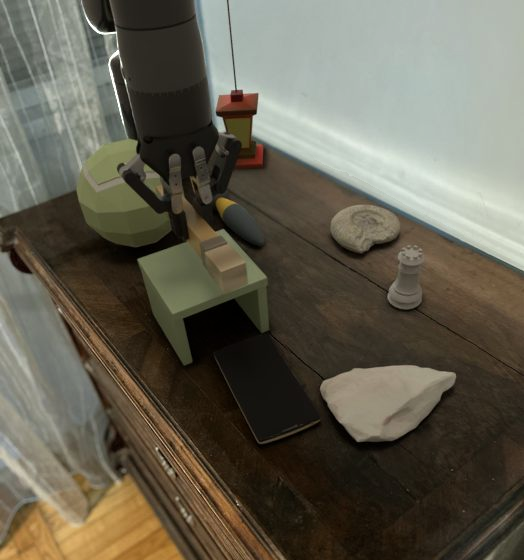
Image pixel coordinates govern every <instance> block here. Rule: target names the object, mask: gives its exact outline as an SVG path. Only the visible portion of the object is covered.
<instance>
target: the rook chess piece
mask: <svg viewBox="0 0 524 560" xmlns="http://www.w3.org/2000/svg"><path fill="white" fill-rule="evenodd" d="M397 259H398V261H399V263H398V265H397V268H398V273H397V276H396V279H395V280H394V282H393V283H392V284H391V285H390V286H389V289H388V293H387V301H388V302H389V303H390V304H391V306H393V307H394V308H395V309H399V310H400V311H401V310H403V311H407V310H408V311H409V310H414V309H415V308H416V307H418V306H419V305H421V303H422V301H423V298H422V297H423V289H422V287H421V285H420V282H419V273H420V271H421V270H422V264H423V263H424V262H425V255H424V254H423V249H422V248H419V246H418V245H415V244H414V245H413V247H412V245H411V244H409V245H406V246H403V247H402V248H401V251H400V252H399V253H398V254H397Z"/></svg>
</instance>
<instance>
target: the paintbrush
mask: <svg viewBox="0 0 524 560" xmlns="http://www.w3.org/2000/svg"><path fill="white" fill-rule="evenodd" d="M211 204H212V211H213V212H216V211H218V214H219V216H220V218H221V220H222V221H223V223H224V224H225V226H226V227H228V228H229V229H230V230H231V231H233V233H235V235H237V236H238V237H240V238H241V239H243V240H245V242H248V243H250V244H252V245H255V246H257V247H258V246H260V247H263V246H264V245H265V244H266V238H265V235H264V233H263V231H262V229H261V228H260V226H259V225H258V223H257V221H256V220H255V219H254V218H253V217H252V215H251V214H250V213H249V212H248V211H247V209H245V208H244V207H243V206H242V205H241V204H239V203H237V202H235V201H233V200H230V199H229V191H228V188H227V189H226V191H225V193H223V194H217V195H215V196H214V197H213V199H212V201H211Z"/></svg>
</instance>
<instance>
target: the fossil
mask: <svg viewBox="0 0 524 560" xmlns="http://www.w3.org/2000/svg"><path fill="white" fill-rule="evenodd" d="M400 231H401V222H400V220H399V219H398V217H397V216H396V214H395V213H394V212H392V211H391V210H388V209H386V208H384V207H381V206H377V205H372V204H354V205H351V206H348V207H345V208H343V209H341V210H340V211H338V212H337V213H336V214H335V215H334V216H333V218H332V219H331V222H330V233H331V236H332V238H333V239H334V240H335V241H336V242H337V244H339V245H340V246H341V247H342V248H344V249H346V250H348V251H350V252H353V253H356V254H359V255H360V254H363V253H365V252H366V251H367V252H368V251H369V250H370V248H371V247H373V246H374V245H375V244H376V245H380V244H386V243H389V242H391V241H393V240H395V239H396V238H397V237H398V235H400Z"/></svg>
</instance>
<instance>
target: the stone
mask: <svg viewBox="0 0 524 560" xmlns="http://www.w3.org/2000/svg"><path fill="white" fill-rule="evenodd" d="M456 379H457V375H456V373H455V372H453V371H441V370H437V369H435V368H434V369H433V368H430V367H420V366H418V365H411V364H409V365H408V364H403V365H401V364H400V365H388V366H375V367H369V368H362V367H354V368H352V369H351V370H349V371H345V372H342V373H339V374H337V375H336V376H333V377H330V378H327V379H324V380H323V381H322V383H321V385H320V388H319V391H320V394H321V396H322V399H323V400H324V401H325V402H326V403H327V408H328V409H329V410H330V412H331V413H332V414H333V416H334V418H335V419H336V420H337V422H339V424H341V425H342V426H343V427H344V429H345V430H346V432H347V433H348V434H349V436H351V437H352V439H354V440H355V441H356V442H357V443H363V442H364V443H365V442H371V443H378V442H379V443H380V442H393V441H395V440H397V439H399V438H401V437H403V436H404V435H406V434H407V433H409V432H411V431H413V430H415V429H416V428H417V427H418V426H419V424H420V423H421V422H422V421H423V420H424V419H425V418H426V417H427V416H429V414H430V413H431V412H432V411H433V409H434V408H435V407H436V406H437V404H439V402H440V401H441V397H442V395H443V393H444V392H446V391H448V390H450V389H451V388H452V387H453V386H454V385H455V383H456Z"/></svg>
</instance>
